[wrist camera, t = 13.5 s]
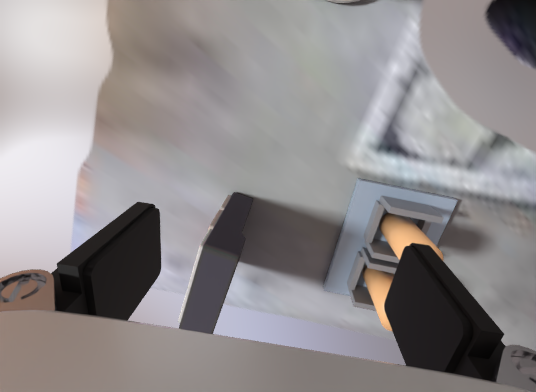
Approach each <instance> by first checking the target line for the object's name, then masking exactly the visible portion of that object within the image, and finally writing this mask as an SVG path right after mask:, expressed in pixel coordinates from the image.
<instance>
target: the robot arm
mask: <svg viewBox="0 0 536 392" xmlns="http://www.w3.org/2000/svg"><path fill="white" fill-rule="evenodd" d="M327 1H331V2H335V3H351V2H356V1H360V0H327ZM57 267H58V268H57V269H56V270H55V271H54V272H52V273H49V272H48V271H45V270H33V269H32V270H25V271H19V272H16V273H12V274H10V275H7V276H5V277H2V278H0V392H536V351H534V350H532V349H529V348H526V347H523V346H520V345H509V346H505V345H504V344H503V343H502V341H501V339H502V337H503V335H504V333H503V332H502V331H501V330H500V328H499V327H498V326H497V325H496V324H495V322H494V321H493V320H492V319H491V318H490V317H489V315H488V314H487V313H486V312H485V311H484V309H483V308H482V307H481V306H480V305H479V303H478V302H477V301H476V300H475V299H474V297H473V296H472V295H471V294H470V293H469V292H468V290H467V289H466V288H465V287H464V286H463V284H462V283H461V282H460V281H459V280H458V278H457V277H456V276H455V275H454V274H453V272H452V271H451V270H450V269H449V268H448V266H447V265H446V264H445V263H444V262H443V261H442V259H441V258H440V257H439V256H438V255H437V253H436V252H435V251H434V250H433V249H432V247H431V246H429V245H425V244H418V243H411V244H410V245H409V246H405V248H404V250H403V252H402V255H401V258H400V261H399V263H398V266H397V269H396V272H395V275H394V277H393V280H392V283H391V286H390V288H389V291H388V294H387V297H386V299H385V303H384V310H385V313H386V316H387V318H388V321H389V323H390V326H391V328H392V331H393V333H394V336H395V338H396V341H397V343H398V346H399V348H400V351H401V353H402V356H403V358H404V360H405V363H406V366H404V365H399V364H393V363H387V362H381V361H374V360H368V359H362V358H357V357H351V356H344V355H338V354H332V353H326V352H320V351H314V350H307V349H301V348H295V347H289V346H283V345H277V344H271V343H265V342H259V341H252V340H246V339H240V338H234V337H228V336H221V335H215V334H209V333H203V332H197V331H191V330H185V329H178V328H171V327H165V326H159V325H153V324H146V323H140V322H133V321H127V320H128V319H129V317H130V316H131V315H132V313H133V312H134V310H135V309H136V308H137V306H138V305H139V303H140V302H141V300H142V299H143V298H144V296H145V295H146V293H147V292H148V290H149V289H150V288H151V286H152V285H153V283H154V282H155V280H156V279H157V278H158V276H159V274H160V271H161V243H160V212H159V209H157V208H155V205H154V204H149V203H142V202H137V203H136V204H134V205H133V206H132V207H130V208H129V209H128V210H126V211H125V212H124V213H123V214H121V215H120V216H119V217H117V218H116V219H115V220H113V221H112V222H111V223H109V224H108V225H107V226H105V227H104V228H103V229H102V230H100V231H99V232H98V233H96V234H95V235H94V236H92V237H91V238H90V239H88V240H87V241H86V242H85V243H83V244H82V245H81V246H79V247H78V248H77V249H75V250H74V251H73V252H71V253H70V254H69V255H67V256H66V257H65V258H64V259H62V260H61V261H60V262H58V263H57Z"/></svg>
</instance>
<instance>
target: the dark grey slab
mask: <svg viewBox="0 0 536 392" xmlns="http://www.w3.org/2000/svg"><path fill="white" fill-rule="evenodd" d="M252 202H253V199H252V198H250V197H247V196H244V195H241V194H238V193H235V192H234V193H233V194H232V196H231V195H228V196H227V198H226V200H225V201H224V203H223V204H222V206H221V208H220V210H219V211H218V213H217V214H216V216H215V218H214V219H213V221H212V223H211V224H210V226H209V229H208V233H207V234H206V236H205V238H204V239H203V241H202V243H201V244H200V247H199V250H198V253H197V257H196V260H195V264H194V267H193V271H192V274H191V278H190V281H189V284H188V288H187V291H186V295H185V299H184V302H183V306H182V309H181V312H180V316H179V319H178V322H179V323H180V326H179V329H185V330H191V331H197V332H203V333H209V334H213V331H214V328H215V326H216V323H217V320H218V317H219V314H220V311H221V308H222V306H223V303H224V300H225V298H226V295H227V292H228V289H229V286H230V283H231V281H232V278H233V275H234V272H235V269H236V267H237V264H238V261H239V258H240V255H241V252H242V248H243V245H244V242H245V237H244V235H243V234H242V231H243V228H244V225H245V222H246V219H247V216H248V213H249V210H250V207H251V205H252Z"/></svg>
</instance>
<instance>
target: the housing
mask: <svg viewBox="0 0 536 392" xmlns="http://www.w3.org/2000/svg"><path fill="white" fill-rule="evenodd" d="M457 201H458V200H456V199H455V198H453V197H448V196H443V195H438V194H433V193H428V192H423V191H418V190H414V189H409V188H404V187H399V186H394V185H389V184H384V183H379V182H374V181H370V180H365V179H360V178H358V179H357V182H356V186H355V189H354V192H353V195H352V198H351V201H350V204H349V208H348V211H347V214H346V217H345V220H344V223H343V226H342V230H341V233H340V236H339V239H338V242H337V245H336V248H335V251H334V255H333V258H332V261H331V264H330V267H329V270H328V273H327V277H326V280H325V283H324V286H323V287H324V291H329V292H334V293H338V294H343V295H348V296H351V300H352V303H353V306H354V307H358V308H363V309H368V310H373V311H377V313H378V316H379V318H380V321H381V324H382V325H383V327H384V328H386V329H387V330H389V331H392V328H391V326H390V323H389V321H388V318H387V316H386V313H385V310H384V303H385V299H386V297H387V294H388V291H389V288H390V286H391V283H392V280H393V277H394V275H395V272H396V269H397V266H398V263H399V261H400V260H399V259H398V257H397V256H396V254H395V253H394V251H393V249H392V248H391V246H390V245H389V243H388V242H387V240H386V239H385V237H384V235H383V234H382V232H381V231H380V228H379V222H380V220H381V218H382V217H383V216H384V215H385V214H386V213H388V212H389V213H392V214H397V215H402V216H407V217H409V218H410V219H411V220H412V221H413V222H414V223H415V224H416V225H417V226H418V228H419V229H420V230H421V231H422V232H423V233H424V234H425V235H426V236H427V237H428V238H429V239H430V240H431V241H432V242H433V243H434V244H435V246H437V244H438V242H439V239H440V237H441V235H442V233H443V231H444V229H445V227H446V224H447V222H448V220H449V218H450V216H451V214H452V212H453V209H454V207H455V205H456V203H457Z"/></svg>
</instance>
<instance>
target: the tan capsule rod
mask: <svg viewBox="0 0 536 392" xmlns="http://www.w3.org/2000/svg"><path fill="white" fill-rule="evenodd" d="M379 228H380V231H381V232H382V234H383V235H384V237H385V239H386V240H387V242H388V243H389V245H390V246H391V248H392V249H393V251H394V253H395V254H396V256H397V257H398V259H399V260H400V258H401V255H402V252H403V250H404V248H405V246H409V245H410V244H411V243H418V244H425V245H429V246H431V247H432V249H433V250H434V251H435V252H436V253H437V255H438V256H439V257H440V258H441V259H442V261H443V254H442V252H441V251H440V250H439V249H438V248H437V247H436V246H435V244H434V243H433V242H432V241H431V240H430V239H429V238H428V237H427V236H426V235H425V234H424V233H423V232H422V231H421V230H420V229H419V228H418V226H417V225H416V224H415V223H414V222H413V221H412V220H411V219H410V218H409V217H407V216H402V215H397V214H392V213H389V212H388V213H386V214H385V215H384V216H383V217H382V218H381V220H380V222H379Z"/></svg>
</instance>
